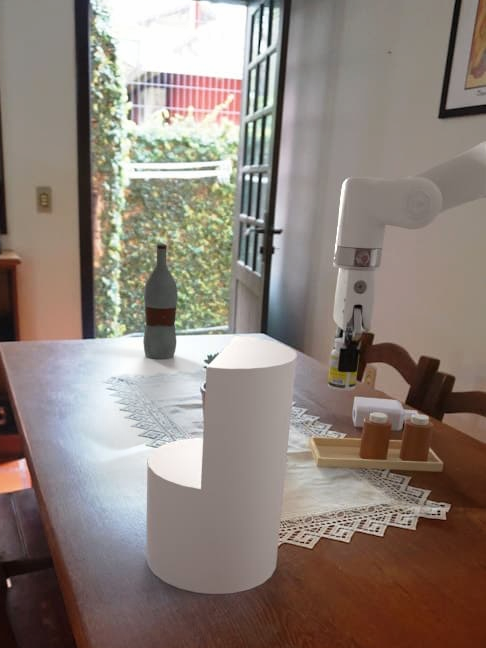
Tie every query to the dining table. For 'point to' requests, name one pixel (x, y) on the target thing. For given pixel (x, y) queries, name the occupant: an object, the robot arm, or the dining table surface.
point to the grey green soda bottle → (160, 310)
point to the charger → (380, 411)
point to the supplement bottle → (337, 378)
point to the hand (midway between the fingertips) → (344, 366)
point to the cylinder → (225, 476)
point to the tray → (347, 456)
